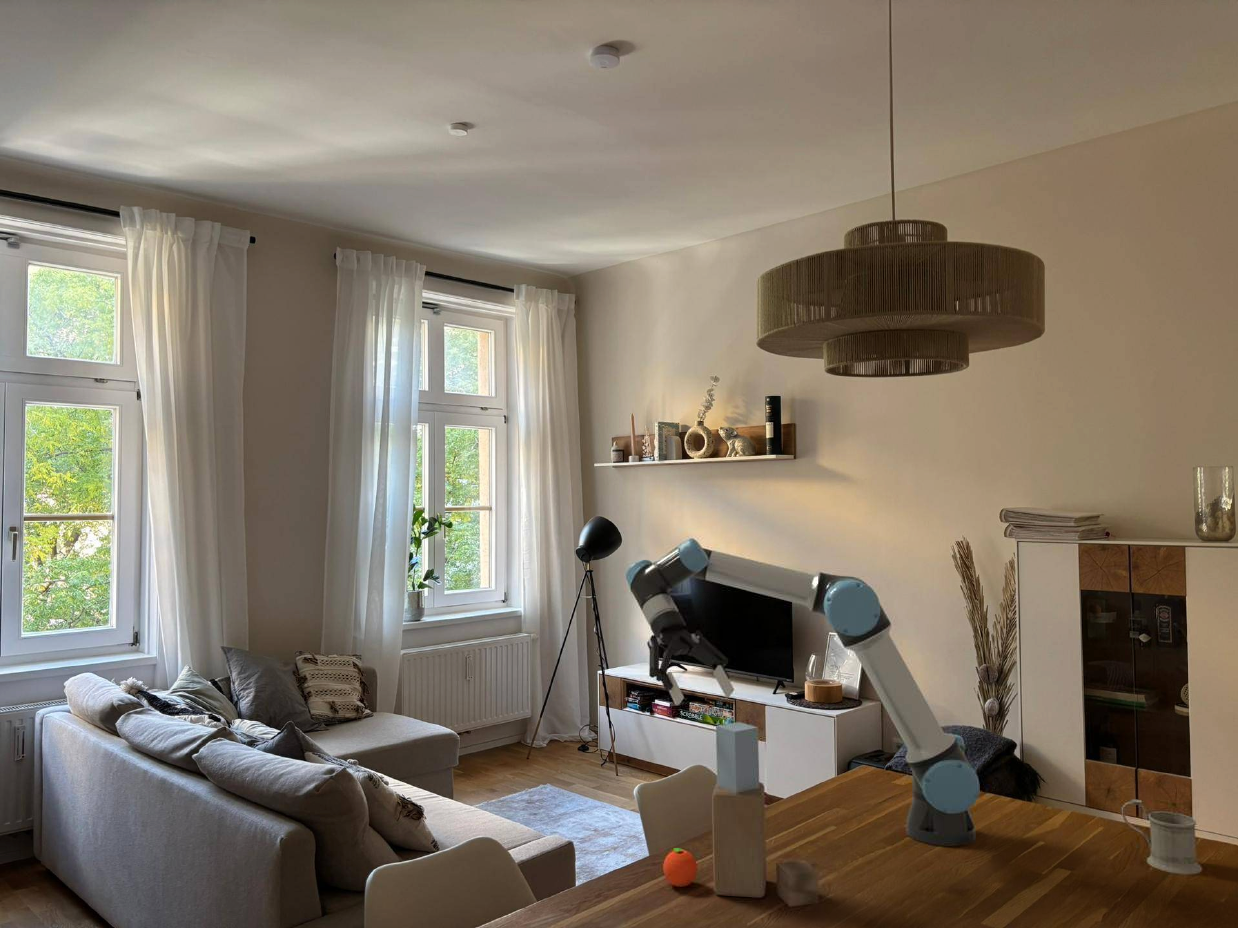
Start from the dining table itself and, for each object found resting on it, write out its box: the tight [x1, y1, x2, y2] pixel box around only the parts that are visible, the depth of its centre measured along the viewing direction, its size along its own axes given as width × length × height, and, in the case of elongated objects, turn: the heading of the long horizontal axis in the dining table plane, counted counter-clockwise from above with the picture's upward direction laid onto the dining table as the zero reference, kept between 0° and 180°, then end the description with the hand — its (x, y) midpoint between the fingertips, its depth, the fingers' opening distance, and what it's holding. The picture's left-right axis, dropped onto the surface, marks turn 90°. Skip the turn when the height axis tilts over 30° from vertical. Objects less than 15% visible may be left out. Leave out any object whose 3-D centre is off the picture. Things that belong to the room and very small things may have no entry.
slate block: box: [715, 721, 760, 793], centre depth 183 cm, size 6×6×12 cm
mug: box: [1121, 799, 1203, 875], centre depth 192 cm, size 14×10×12 cm
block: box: [711, 781, 768, 899], centre depth 182 cm, size 10×10×20 cm
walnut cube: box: [775, 859, 819, 907], centre depth 177 cm, size 6×6×6 cm
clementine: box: [662, 847, 698, 887], centre depth 184 cm, size 8×7×7 cm
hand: (705, 697), depth 193 cm, fingers open, 13 cm apart
